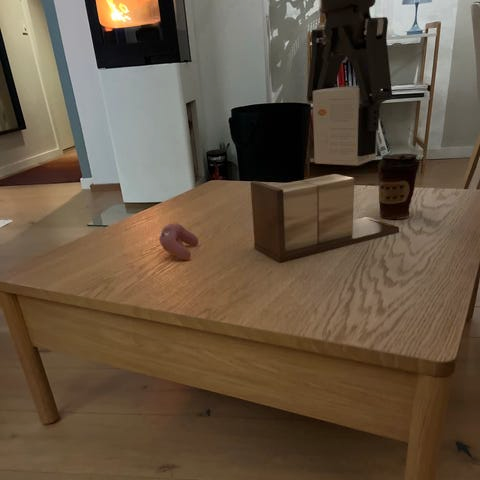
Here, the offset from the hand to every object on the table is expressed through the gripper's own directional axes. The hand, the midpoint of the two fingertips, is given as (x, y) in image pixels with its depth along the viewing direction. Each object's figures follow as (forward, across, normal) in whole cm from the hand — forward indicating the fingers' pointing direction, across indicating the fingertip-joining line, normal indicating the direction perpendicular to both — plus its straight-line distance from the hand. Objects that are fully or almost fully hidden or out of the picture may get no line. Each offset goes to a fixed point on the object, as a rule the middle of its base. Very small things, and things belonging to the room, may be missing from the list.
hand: (345, 151), depth 74 cm
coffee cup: (+19, -17, +27) cm, 38 cm away
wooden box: (+19, -13, +6) cm, 24 cm away
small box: (+2, 0, 0) cm, 2 cm away
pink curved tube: (+19, -26, -20) cm, 38 cm away
